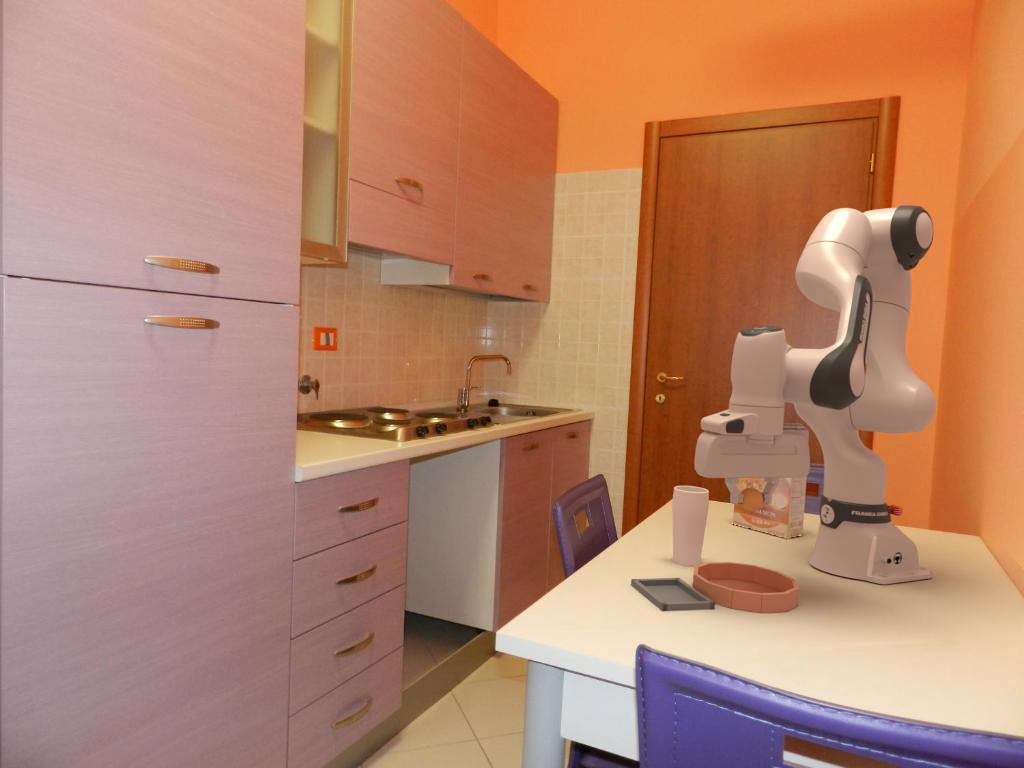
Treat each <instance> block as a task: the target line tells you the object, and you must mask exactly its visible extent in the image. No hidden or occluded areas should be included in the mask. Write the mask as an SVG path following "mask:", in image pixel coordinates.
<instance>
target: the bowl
mask: <svg viewBox="0 0 1024 768" xmlns="http://www.w3.org/2000/svg"><path fill="white" fill-rule="evenodd" d="M692 577H693V579H692V587H693V588H694V589H696V590H697V591H699V592H700V593H702V594H703V595H705V596H706V597H708V598H709V599H710V600H712V601H713V602H715V605H719V606H722V607H726V608H728V609H733V610H738V611H745V612H752V613H761V614H762V613H763V614H764V613H767V614H769V613H770V614H771V613H786V612H788V611H790V610H793V609H794V608H797V607H798V606H799V593H800V588H799V585H798V583H797V580H796V579H794V578H792V577H791V576H788V575H786V574H784V573H782V572H780V571H778V570H776V569H775V570H774V569H770V568H767V567H763V566H759V565H756V564H748V563H742V562H740V563H739V562H733V561H716V562H715V561H714V562H713V561H710V562H704V563H701V564H700V565H698V566H693V576H692Z"/></svg>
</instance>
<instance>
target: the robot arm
mask: <svg viewBox="0 0 1024 768" xmlns="http://www.w3.org/2000/svg"><path fill="white" fill-rule="evenodd" d="M934 231H935V230H934V223H933V219H932V217H931V215H930V213H929V212H928V211H927V210H926V209H925V208H924V207H922V206H920V205H912V204H908V205H906V204H905V205H904V204H903V205H899V206H897V207H886V208H879V209H872V210H871V209H870V210H866V211H864V212H861V210H858V209H855V208H851V207H840V208H835V209H833V210H831V211H830V212H828V213H827V214H825V215H824V216H823V217H822V218H821V220H820V221H819V223H818V224H817V225H816V227H815V228H814V230H813V231H812V233H811V234H810V236H809V238H808V241H807V242H806V244H805V246H804V248H803V250H802V253H801V255H800V256H799V259H798V263H797V265H796V269H795V275H794V276H795V282H796V285H797V287H798V289H799V291H800V292H801V294H802V295H803V296H805V297H806V298H807V299H808V300H809V301H811V302H812V303H814V304H816V305H818V306H820V307H822V308H827V309H830V310H833V311H835V312H837V313H840V316H839V321H838V327H837V332H836V339H835V342H834V344H832V345H830V346H828V347H825V348H797V347H793V346H792V345H790V344H788V343H787V337H786V336H787V335H786V331H785V329H784V328H782V327H780V326H779V327H778V326H772V325H770V326H769V325H767V326H765V325H764V326H763V325H762V326H752V327H747V328H744V329H742V330H741V331H739V332H738V333H737V336H736V338H735V341H734V342H735V343H734V347H733V351H732V358H731V359H732V360H731V368H730V381H731V384H732V386H731V387H732V391H731V396H730V398H729V402H728V409H725V410H722V411H719V412H718V413H714V414H713V413H712V414H711V415H710V414H709V415H707V416H704V417H702V419H701V420H700V428H701V430H702V431H703V432H701V433H700V434H699V435H698V438H697V441H696V446H695V452H694V463H693V464H694V465H693V466H694V470H695V471H696V473H697V475H699V476H701V477H704V478H707V479H724V483H725V485H726V487H727V489H728V491H729V492H730V496H729V498H730V499H729V502H730V503H731V504H732V505H734V504H743V498H744V494H742V493H739V491H738V489H737V486H736V484H739V478H765V482H767V484H766V486H765V488H764V490H763V492H761V494H762V495H763V499H764V501H763V504H771V502H772V494H773V493H774V491H775V489H776V488H777V486H778V485H779V478H805V477H806V476H808V474H809V473H810V470H811V462H810V461H811V457H810V445H809V437H810V431H809V430H808V429H807V428H806V427H805V425H803V424H802V423H799V422H794V423H789V422H784V421H785V405H786V403H790V404H793V407H794V410H795V412H796V414H797V415H798V416H799V418H800V419H801V420H802V421H803V422H804V423H806V424H807V426H808V427H809V428H810V429H811V430H812V431H813V433H814V434H815V436H816V439H817V440H818V442H819V445H820V448H821V450H822V455H823V467H824V468H823V494H821V495H820V502H819V520H820V522H819V527H818V531H817V536H816V540H815V544H814V548H813V551H812V554H811V557H810V559H809V561H808V562H809V564H810V565H811V566H812V567H814V568H815V569H818V570H819V571H822V572H825V573H829V574H832V575H836V576H839V577H845V578H848V579H849V578H851V579H855V580H861V581H866V582H871V583H874V584H880V585H890V584H896V583H904V582H910V581H911V582H912V581H922V580H926V579H932V578H933V577H932V572H930V570H928V569H927V568H925V567H923V566H921V565H919V551H918V547H917V545H916V543H915V542H914V541H913V540H912V539H911V538H910V537H908V535H906V534H905V532H903V531H902V530H901V529H900V528H899V527H897V525H895V524H894V523H893V522H892V521H893V520H892V516H893V515H894V516H896V517H901V516H902V515H903V514H904V508H903V507H902V506H900V505H896V504H890V505H888V504H887V503H886V494H887V493H886V492H887V481H888V480H887V479H888V468H887V467H888V466H887V464H886V462H885V460H884V459H883V457H881V456H880V455H879V454H878V453H877V452H875V451H873V450H872V449H870V448H869V447H866V445H865V444H864V443H863V442H862V440H861V438H860V432H859V431H866V432H873V433H874V432H877V433H884V434H893V435H894V434H895V435H896V434H909V433H910V434H911V433H920V432H922V431H923V430H925V429H926V428H927V427H929V425H930V424H931V423H932V421H933V419H934V417H935V414H936V410H937V401H936V396H935V393H934V392H933V391H932V389H931V388H930V387H929V385H928V384H927V383H926V382H924V380H922V379H921V378H919V377H918V376H917V375H916V373H915V372H914V371H913V369H912V368H911V366H910V364H909V362H908V360H907V354H906V339H907V329H908V323H909V320H910V319H909V318H910V312H911V305H912V292H913V286H912V285H913V284H912V283H913V282H912V273H911V270H913V269H915V268H916V267H917V266H918V264H919V262H920V260H922V259H923V258H924V257H925V255H926V254H927V253H928V251H929V250H930V248H931V246H932V244H933V241H934ZM891 515H892V516H891Z"/></svg>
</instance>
